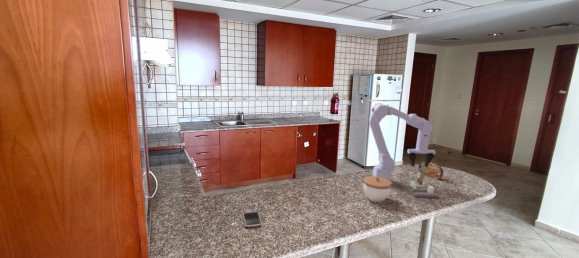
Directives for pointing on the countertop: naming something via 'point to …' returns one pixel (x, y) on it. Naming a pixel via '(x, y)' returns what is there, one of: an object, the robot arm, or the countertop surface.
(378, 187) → the lidded bowl
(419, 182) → the tan rounded cylinder
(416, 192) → the switch panel
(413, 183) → the holder
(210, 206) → the countertop surface
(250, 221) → the cell phone
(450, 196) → the countertop surface
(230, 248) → the countertop surface
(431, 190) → the switch tab
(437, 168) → the tin
